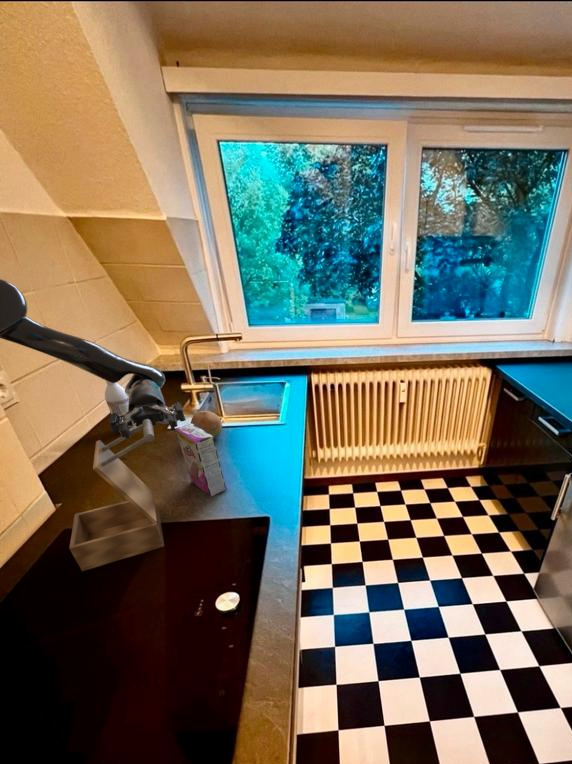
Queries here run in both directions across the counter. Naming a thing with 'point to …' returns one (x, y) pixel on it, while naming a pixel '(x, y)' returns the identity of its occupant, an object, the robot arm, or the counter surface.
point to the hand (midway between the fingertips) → (149, 429)
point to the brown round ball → (208, 422)
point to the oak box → (113, 534)
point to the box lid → (126, 472)
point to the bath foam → (116, 398)
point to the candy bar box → (201, 459)
